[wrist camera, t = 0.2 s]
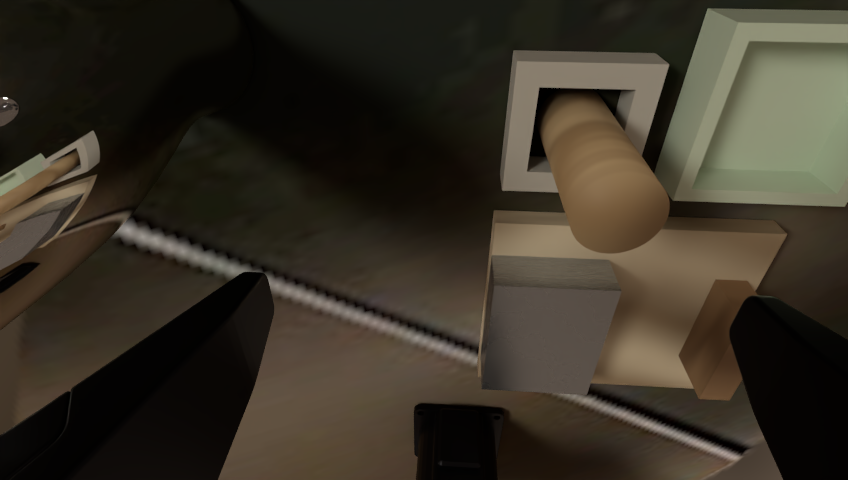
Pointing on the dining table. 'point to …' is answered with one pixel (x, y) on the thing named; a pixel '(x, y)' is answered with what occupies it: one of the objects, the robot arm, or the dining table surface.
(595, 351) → the grey rectangular box
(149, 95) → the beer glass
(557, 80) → the socket
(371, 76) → the dining table surface
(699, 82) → the tray
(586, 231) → the dowel
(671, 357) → the board
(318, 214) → the dining table surface
